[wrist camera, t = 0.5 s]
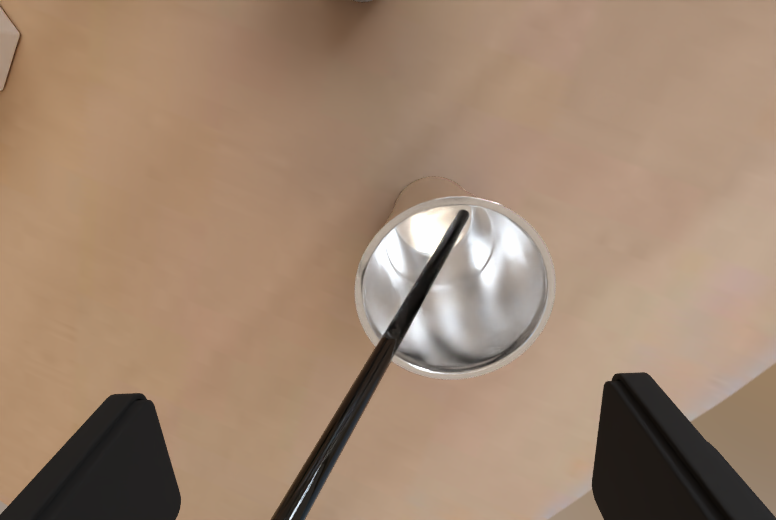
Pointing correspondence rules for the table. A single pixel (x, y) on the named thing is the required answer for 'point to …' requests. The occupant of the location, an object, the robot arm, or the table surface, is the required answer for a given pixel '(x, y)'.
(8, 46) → the jar
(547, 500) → the table surface
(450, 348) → the silver tumbler with straw
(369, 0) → the cup
